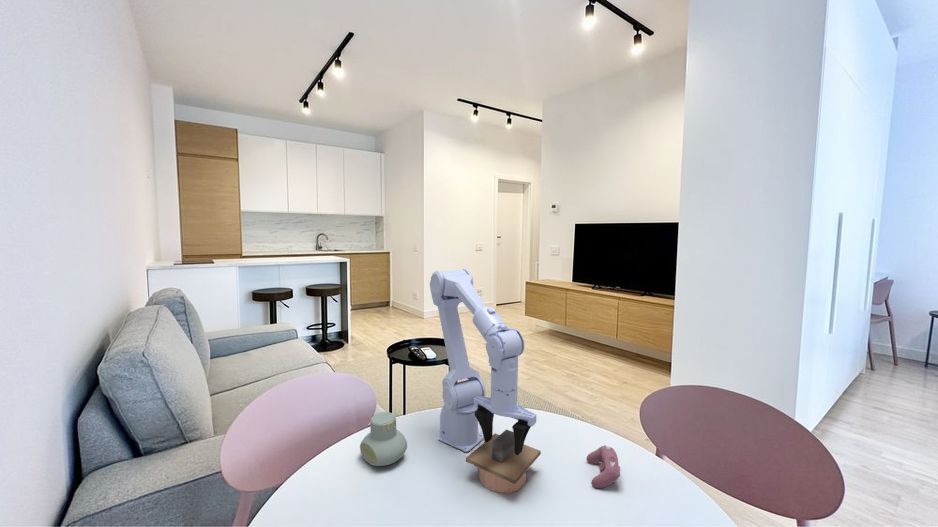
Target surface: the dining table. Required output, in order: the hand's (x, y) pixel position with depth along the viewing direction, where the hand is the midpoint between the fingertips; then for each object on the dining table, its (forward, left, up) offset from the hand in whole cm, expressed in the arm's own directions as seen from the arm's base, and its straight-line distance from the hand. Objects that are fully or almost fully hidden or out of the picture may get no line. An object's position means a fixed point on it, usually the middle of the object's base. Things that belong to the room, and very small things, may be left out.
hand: (502, 446), depth 80 cm
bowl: (0, 0, -7) cm, 7 cm away
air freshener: (-26, -11, -7) cm, 29 cm away
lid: (0, 0, -3) cm, 3 cm away
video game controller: (+18, +13, -7) cm, 23 cm away
